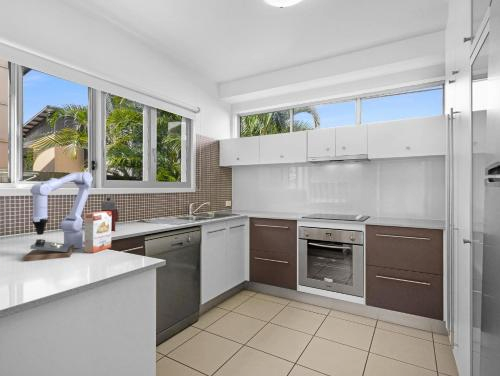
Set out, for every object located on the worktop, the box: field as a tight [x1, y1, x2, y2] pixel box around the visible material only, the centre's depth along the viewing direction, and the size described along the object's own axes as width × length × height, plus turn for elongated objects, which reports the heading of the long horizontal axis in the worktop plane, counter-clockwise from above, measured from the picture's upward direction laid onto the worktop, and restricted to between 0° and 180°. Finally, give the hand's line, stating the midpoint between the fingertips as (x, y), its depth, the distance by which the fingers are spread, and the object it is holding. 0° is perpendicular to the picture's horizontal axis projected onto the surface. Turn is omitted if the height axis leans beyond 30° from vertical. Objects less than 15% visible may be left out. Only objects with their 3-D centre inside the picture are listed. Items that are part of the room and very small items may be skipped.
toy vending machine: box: [101, 194, 119, 232], centre depth 212 cm, size 9×11×28 cm
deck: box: [30, 238, 71, 252], centre depth 139 cm, size 15×13×3 cm
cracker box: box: [83, 210, 112, 254], centre depth 151 cm, size 14×6×21 cm, turn 168°
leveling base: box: [23, 245, 75, 262], centre depth 139 cm, size 18×16×3 cm
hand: (40, 234), depth 139 cm, fingers closed
